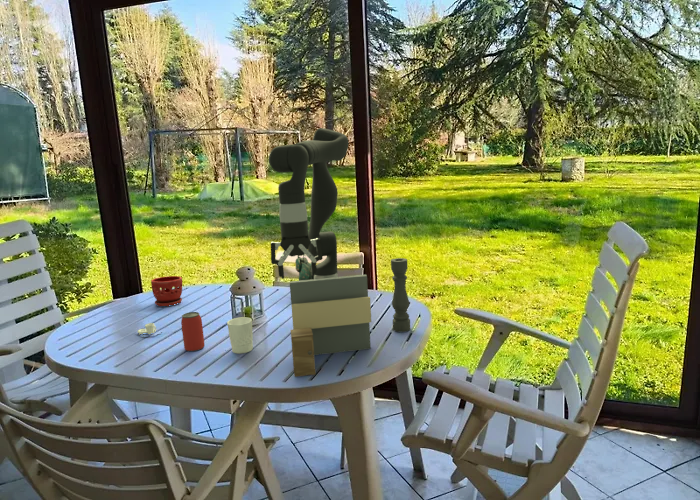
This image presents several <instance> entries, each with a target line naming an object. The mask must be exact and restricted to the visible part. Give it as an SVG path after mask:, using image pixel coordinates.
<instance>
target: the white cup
mask: <svg viewBox="0 0 700 500" xmlns="http://www.w3.org/2000/svg"><path fill="white" fill-rule="evenodd" d="M226 325H227V329H228V336H229V340H230V341H229V342H230V346H231V352H232V353H233V354H238V355H239V354H240V355H241V354H246V353H249V352H251V351H252V350H253V349H254V346H253V345H254V343H253V341H254V339H253V338H254V337H253V335H254V334H253V319H252V318H250V317H247V316H246V317H245V316H242V317H241V316H240V317H235V318H232V319H229V320H228V321H227V323H226Z"/></svg>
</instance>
